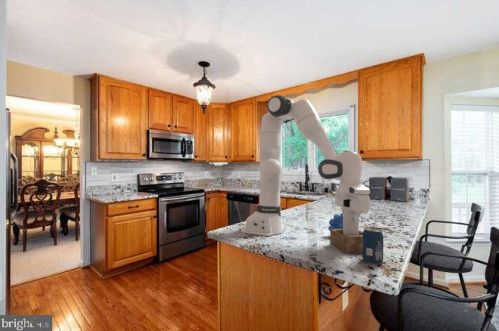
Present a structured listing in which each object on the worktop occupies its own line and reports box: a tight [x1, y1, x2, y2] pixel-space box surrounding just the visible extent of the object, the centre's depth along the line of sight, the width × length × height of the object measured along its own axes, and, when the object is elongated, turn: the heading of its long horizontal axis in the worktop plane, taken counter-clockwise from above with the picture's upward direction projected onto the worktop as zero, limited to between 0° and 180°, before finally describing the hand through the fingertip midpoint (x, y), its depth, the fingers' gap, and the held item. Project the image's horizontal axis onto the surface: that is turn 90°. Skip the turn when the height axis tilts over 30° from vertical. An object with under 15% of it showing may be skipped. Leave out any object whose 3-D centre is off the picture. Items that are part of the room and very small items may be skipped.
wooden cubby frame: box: [329, 229, 363, 254], centre depth 102 cm, size 12×11×7 cm
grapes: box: [327, 212, 343, 232], centre depth 120 cm, size 12×7×12 cm, turn 82°
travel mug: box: [343, 199, 360, 236], centre depth 102 cm, size 6×7×20 cm
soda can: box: [361, 227, 384, 265], centre depth 88 cm, size 7×7×12 cm
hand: (350, 219), depth 102 cm, fingers closed on travel mug, 6 cm apart
